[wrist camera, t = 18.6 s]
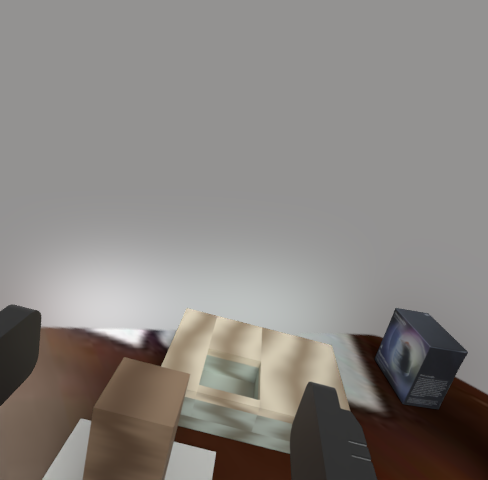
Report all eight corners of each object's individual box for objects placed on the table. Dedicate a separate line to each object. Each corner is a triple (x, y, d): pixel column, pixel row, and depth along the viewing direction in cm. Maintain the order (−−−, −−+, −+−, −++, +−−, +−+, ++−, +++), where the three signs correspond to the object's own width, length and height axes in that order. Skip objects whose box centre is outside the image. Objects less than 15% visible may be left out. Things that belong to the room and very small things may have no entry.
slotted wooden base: (321, 372, 56) (331, 345, 54) (341, 466, 41) (356, 432, 39) (180, 336, 55) (186, 308, 54) (146, 417, 40) (154, 381, 39)
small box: (371, 358, 63) (393, 305, 60) (405, 363, 64) (428, 312, 61) (400, 404, 53) (429, 344, 50) (440, 410, 54) (471, 352, 51)
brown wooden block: (163, 482, 33) (190, 374, 29) (144, 548, 28) (173, 427, 24) (105, 467, 33) (124, 357, 29) (74, 531, 28) (93, 407, 24)
